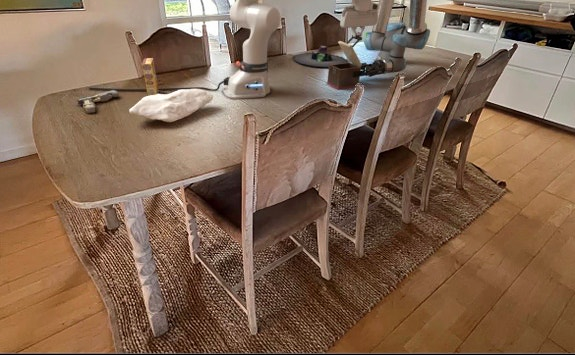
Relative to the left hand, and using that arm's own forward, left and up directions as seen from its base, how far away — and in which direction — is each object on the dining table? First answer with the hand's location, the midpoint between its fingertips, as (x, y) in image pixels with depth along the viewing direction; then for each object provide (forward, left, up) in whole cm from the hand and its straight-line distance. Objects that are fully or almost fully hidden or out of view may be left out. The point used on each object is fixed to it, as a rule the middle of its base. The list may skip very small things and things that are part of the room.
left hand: (357, 36), depth 178 cm
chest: (-5, 0, -24) cm, 24 cm away
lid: (-4, 0, -8) cm, 9 cm away
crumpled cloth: (-94, -6, -24) cm, 97 cm away
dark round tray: (+8, +45, -24) cm, 51 cm away
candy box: (-97, +19, -24) cm, 102 cm away
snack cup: (+60, +60, -24) cm, 88 cm away
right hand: (-3, 0, -17) cm, 17 cm away
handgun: (-119, +16, -24) cm, 122 cm away
